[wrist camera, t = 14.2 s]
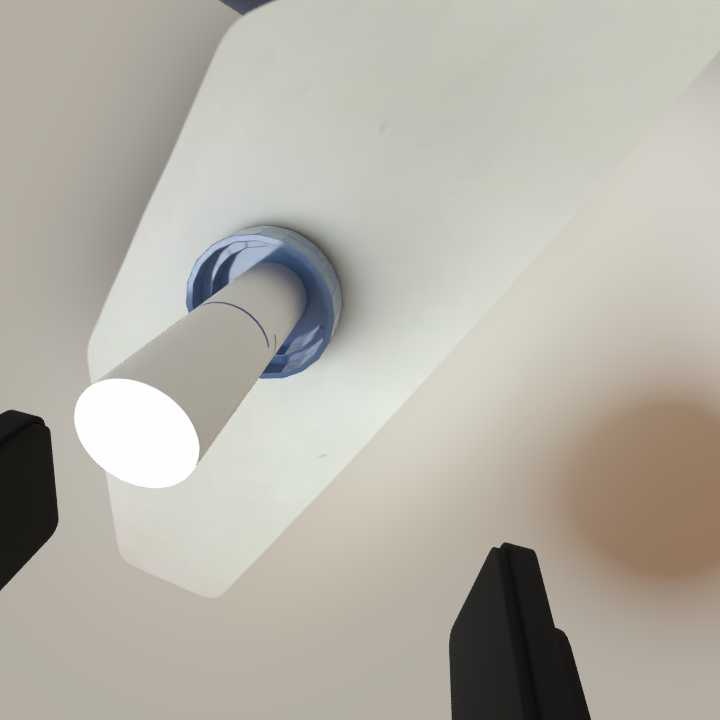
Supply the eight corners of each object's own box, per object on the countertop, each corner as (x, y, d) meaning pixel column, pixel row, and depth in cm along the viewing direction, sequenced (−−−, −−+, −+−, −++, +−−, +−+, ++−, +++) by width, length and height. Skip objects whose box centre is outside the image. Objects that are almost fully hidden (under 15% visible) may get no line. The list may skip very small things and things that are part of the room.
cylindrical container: (293, 254, 46) (164, 367, 24) (315, 321, 49) (219, 479, 26) (228, 271, 48) (50, 391, 25) (253, 335, 50) (112, 494, 28)
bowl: (214, 208, 46) (190, 217, 41) (355, 245, 45) (347, 257, 41) (204, 338, 52) (182, 358, 48) (328, 371, 52) (318, 394, 47)
